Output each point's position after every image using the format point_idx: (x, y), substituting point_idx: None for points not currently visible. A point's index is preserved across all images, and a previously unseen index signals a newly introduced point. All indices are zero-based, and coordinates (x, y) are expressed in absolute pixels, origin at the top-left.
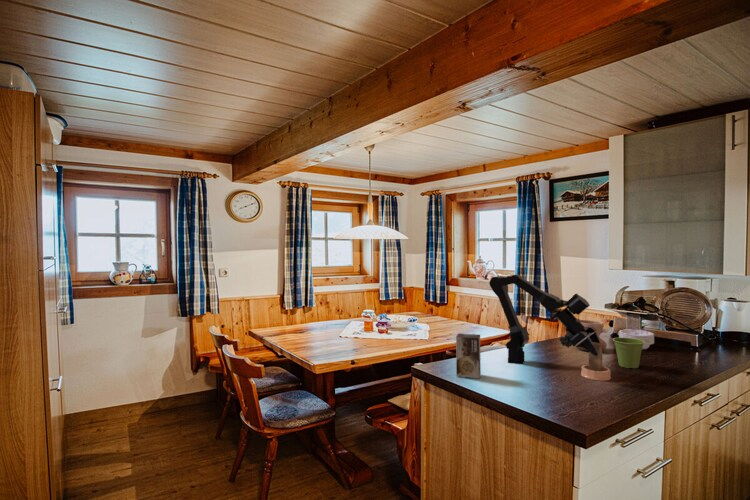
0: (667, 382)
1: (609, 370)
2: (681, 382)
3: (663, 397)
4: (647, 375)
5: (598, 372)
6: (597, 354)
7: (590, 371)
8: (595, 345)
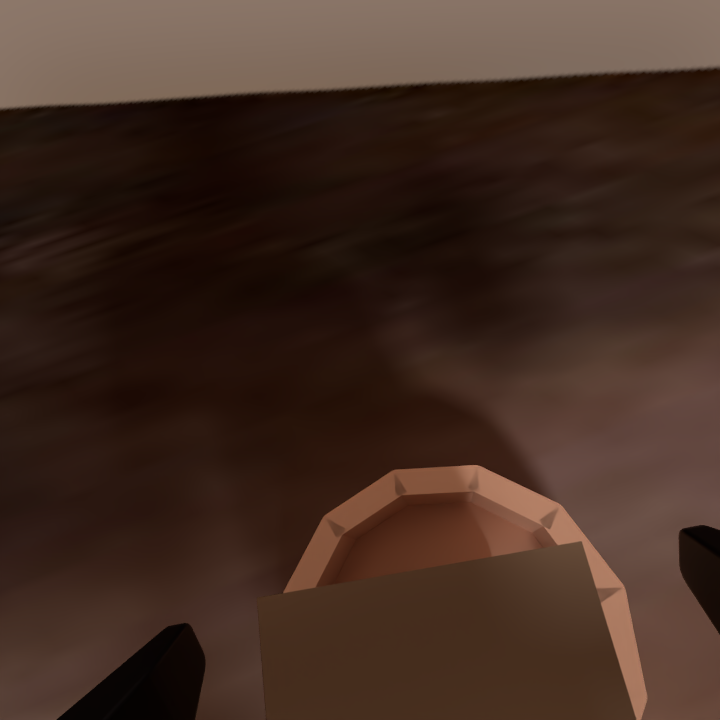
0: (161, 190)
1: (408, 474)
2: (101, 149)
3: (538, 84)
4: (61, 329)
5: (586, 542)
6: (707, 532)
7: (632, 644)
8: (618, 675)
